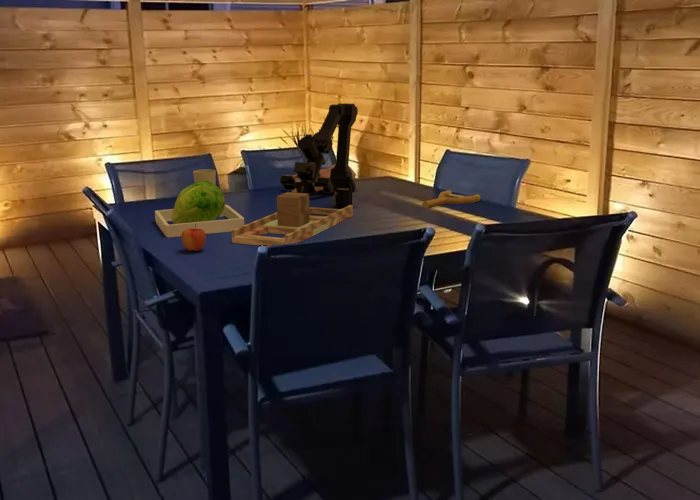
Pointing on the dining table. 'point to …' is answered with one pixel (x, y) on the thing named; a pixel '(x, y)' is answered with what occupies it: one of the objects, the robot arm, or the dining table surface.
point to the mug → (205, 175)
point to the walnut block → (293, 209)
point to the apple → (193, 239)
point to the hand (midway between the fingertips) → (299, 203)
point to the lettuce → (198, 203)
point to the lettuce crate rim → (199, 223)
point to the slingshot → (450, 199)
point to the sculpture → (324, 174)
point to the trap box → (292, 234)
